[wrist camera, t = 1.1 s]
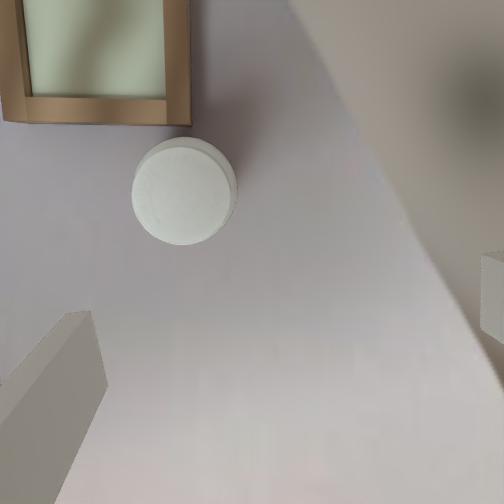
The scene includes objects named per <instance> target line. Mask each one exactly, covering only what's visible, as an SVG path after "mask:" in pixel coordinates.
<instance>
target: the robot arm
mask: <svg viewBox="0 0 504 504" xmlns="http://www.w3.org/2000/svg"><path fill="white" fill-rule="evenodd" d="M480 329H482V330H483V331H485V332H486V333H488V334H489V335H491V336H492V337H494V338H495V339H496V340H498V341H500V342H501V343H503V344H504V251H498V252H491V253H484V254H481V303H480ZM107 387H108V383H107V379H106V375H105V370H104V366H103V362H102V358H101V353H100V349H99V345H98V341H97V336H96V332H95V328H94V324H93V319H92V315H91V311H90V310H89V311H82V312H75V313H68V314H66V315H65V316H64V317H63V318H62V319H61V320H60V321H59V322H58V323H57V325H56V326H55V327H54V328H53V329H52V330H51V331H50V332H49V333H48V334H47V336H46V337H45V338H44V339H43V340H42V341H41V342H40V343H39V344H38V345H37V347H36V348H35V349H34V350H33V351H32V352H31V353H30V354H29V355H28V356H27V358H26V359H25V360H24V361H23V362H22V363H21V364H20V365H19V366H18V367H17V368H16V370H15V371H14V372H13V373H12V374H11V375H10V376H9V377H8V378H7V379H6V381H5V382H4V383H3V384H2V385H1V386H0V504H54V503H55V500H56V498H57V496H58V494H59V492H60V490H61V487H62V485H63V483H64V481H65V479H66V476H67V474H68V472H69V470H70V468H71V466H72V463H73V461H74V459H75V457H76V455H77V452H78V450H79V448H80V446H81V444H82V442H83V439H84V437H85V435H86V433H87V431H88V428H89V426H90V424H91V422H92V420H93V417H94V415H95V413H96V411H97V409H98V407H99V404H100V402H101V400H102V398H103V396H104V393H105V391H106V389H107Z"/></svg>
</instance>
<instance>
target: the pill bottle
mask: <svg viewBox="0 0 504 504" xmlns="http://www.w3.org/2000/svg"><path fill="white" fill-rule="evenodd" d="M236 199H237V181H236V177H235V174H234V171H233V168H232V166H231V165H230V163H229V161H228V160H227V159H226V157H225V156H224V155H223V153H222V152H221V151H220V150H218V149H217V148H216V147H214V146H213V145H212V144H210V143H208V142H205V141H203V140H201V139H198V138H194V137H176V138H171V139H168V140H165V141H163V142H160V143H159V144H157V145H156V146H154V147H153V148H151V149H150V150H149V151H148V152H147V153H146V154H145V155H144V156H143V158H142V159H141V161H140V162H139V164H138V166H137V168H136V171H135V174H134V178H133V183H132V189H131V200H132V205H133V209H134V212H135V215H136V216H137V218H138V220H139V222H140V223H141V225H142V226H143V227H144V228H145V229H146V230H147V231H148V232H149V233H150V234H151V235H152V236H154V237H156V238H157V239H159V240H161V241H163V242H166V243H169V244H173V245H192V244H196V243H199V242H202V241H204V240H206V239H208V238H210V237H211V236H212V235H214V234H215V233H216V232H217V231H218V230H219V229H220V228H221V227H222V226H223V225H224V224H225V223H226V222H227V220H228V219H229V217H230V216H231V214H232V212H233V210H234V207H235V204H236Z"/></svg>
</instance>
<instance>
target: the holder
mask: <svg viewBox="0 0 504 504" xmlns="http://www.w3.org/2000/svg"><path fill="white" fill-rule="evenodd" d="M0 95H1V103H2V111H3V119H4V121H11V122H18V123H27V124H78V125H129V126H180V127H192V93H191V40H190V0H0Z"/></svg>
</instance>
